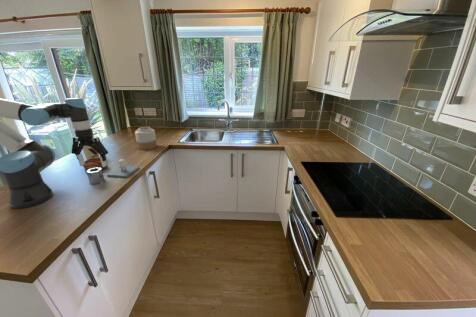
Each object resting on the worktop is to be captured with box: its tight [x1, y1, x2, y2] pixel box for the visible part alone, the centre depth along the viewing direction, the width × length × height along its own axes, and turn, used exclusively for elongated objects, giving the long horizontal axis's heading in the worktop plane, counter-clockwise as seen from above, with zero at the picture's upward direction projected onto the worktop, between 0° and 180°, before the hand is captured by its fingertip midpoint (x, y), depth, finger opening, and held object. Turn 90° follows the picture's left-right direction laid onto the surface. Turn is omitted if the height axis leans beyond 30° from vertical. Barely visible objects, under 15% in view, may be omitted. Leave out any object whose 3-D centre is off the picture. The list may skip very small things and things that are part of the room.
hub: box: [86, 167, 105, 185], centre depth 117 cm, size 7×7×7 cm
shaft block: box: [106, 158, 140, 179], centre depth 128 cm, size 14×12×8 cm
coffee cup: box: [82, 146, 100, 160], centre depth 148 cm, size 9×9×12 cm
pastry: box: [82, 157, 109, 173], centre depth 132 cm, size 17×15×8 cm
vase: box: [134, 126, 158, 151], centre depth 173 cm, size 15×15×17 cm
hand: (93, 165), depth 115 cm, fingers open, 13 cm apart
